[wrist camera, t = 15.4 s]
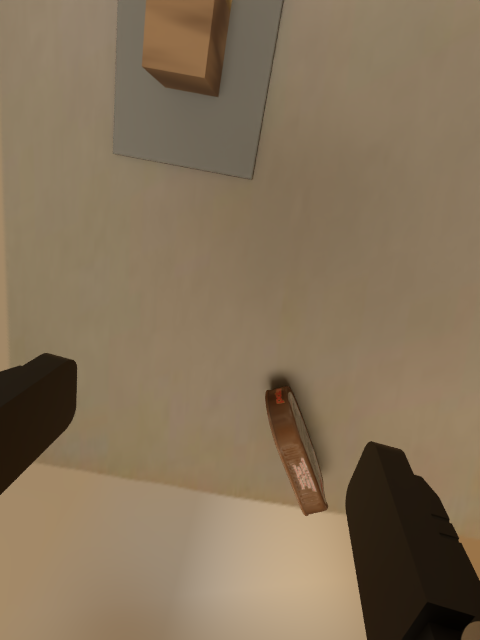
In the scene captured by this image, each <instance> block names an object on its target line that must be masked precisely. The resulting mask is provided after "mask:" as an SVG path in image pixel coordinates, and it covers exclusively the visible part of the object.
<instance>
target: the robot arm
mask: <svg viewBox="0 0 480 640" xmlns="http://www.w3.org/2000/svg"><path fill="white" fill-rule="evenodd" d="M76 393H77V364H76V362H75V361H74V360H71V359H67V358H64V357H60V356H56V355H53V354H49V353H44V354H42V355H40V356H38V357H36V358H35V359H33V360H31V361H30V362H28V363H27V364H25V365H23V366H17V367H14V368H10V369H7V370H4V371H1V372H0V495H1V494H2V493H3V492H4V491H5V490H6V489H7V488H8V487H9V486H10V485H11V484H12V483H13V482H14V481H15V480H16V479H17V478H18V477H19V476H20V474H22V473H23V472H24V471H25V470H26V469H27V468H28V467H29V466H30V465H31V464H32V463H33V462H34V461H35V460H36V459H37V458H38V457H39V456H40V455H41V454H42V453H43V452H44V451H45V450H46V449H47V448H48V447H49V446H50V445H51V444H52V443H53V442H54V441H55V440H56V439H57V438H58V437H59V436H60V435H61V434H62V433H63V432H64V431H65V430H66V429H67V427H68V426H69V424H70V423H71V421H72V419H73V417H74V414H75V410H76ZM346 515H347V521H348V527H349V533H350V539H351V545H352V551H353V557H354V563H355V569H356V575H357V581H358V587H359V593H360V599H361V605H362V611H363V617H364V623H365V629H366V636H367V640H480V581H479V578H478V577H477V574H476V572H475V570H474V568H473V566H472V564H471V562H470V560H469V558H468V556H467V554H466V552H465V550H464V548H463V546H462V543H459V541H458V539H459V537H458V535H457V533H456V531H455V529H454V527H453V525H452V523H449V517H448V515H447V513H446V511H445V509H444V507H443V504H442V502H441V500H440V498H439V497H438V495H437V494H436V493H435V492H434V491H433V490H432V488H431V487H430V486H429V485H428V484H427V483H426V481H425V480H424V479H423V478H422V477H421V476H417V475H414V474H413V472H412V469H411V467H410V465H409V462H408V460H407V458H406V455H405V453H404V452H403V451H402V450H401V449H398V448H394V447H390V446H386V445H383V444H379V443H375V442H372V441H371V442H368V444H367V445H366V446H365V448H364V451H363V453H362V455H361V458H360V460H359V462H358V464H357V467H356V469H355V471H354V473H353V476H352V478H351V480H350V483H349V485H348V488H347V493H346Z"/></svg>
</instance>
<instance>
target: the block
mask: <svg viewBox="0 0 480 640" xmlns="http://www.w3.org/2000/svg"><path fill="white" fill-rule="evenodd" d="M231 4H232V0H146V11H145V26H144V41H143V56H142V67H143V68H144V69H145V70H146V71H147V72H148V73H150V74H151V75H152V76H153V77H154V78H155V79H156V80H157V81H158V82H160V83H161V84H162V85H163V86H164V87H166V88H171V89H176V90H182V91H187V92H193V93H198V94H203V95H209V96H214V97H218V96H219V89H220V82H221V75H222V68H223V61H224V54H225V47H226V40H227V32H228V25H229V18H230V11H231Z"/></svg>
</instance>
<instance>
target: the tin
mask: <svg viewBox="0 0 480 640" xmlns="http://www.w3.org/2000/svg"><path fill="white" fill-rule="evenodd" d="M265 399H266V409H267V415H268V420H269V424H270V428H271V431H272V435H273V438H274V442H275V445H276V448H277V450H278V453H279V455H280V458H281V460H282V463H283V465H284V468H285V470H286V473H287V475H288V478H289V480H290V483H291V485H292V488H293V490H294V493H295V495H296V498H297V501H298V503H299V506H300V508H301V510H302V512H303V514H304V515H305V516H308V515H309V514H313V513H318V512H322V511H325V510H327V508H328V504H327V502H326V500H325V494H324V489H323V478H322V474H321V471H320V467H319V464H318V461H317V457H316V454H315V451H314V448H313V446H312V443H311V440H310V437H309V434H308V431H307V428H306V425H305V423H304V420H303V417H302V414H301V412H300V409H299V407H298V404H297V401H296V399H295V397H294V394H293V392H292V390H291V389H290V387H288V386H285V387H280V388H277V389H273V390H267V391H266V395H265Z"/></svg>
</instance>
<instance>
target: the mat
mask: <svg viewBox="0 0 480 640" xmlns="http://www.w3.org/2000/svg"><path fill="white" fill-rule="evenodd" d="M282 6H283V0H232V4H231V11H230V18H229V25H228V32H227V40H226V47H225V54H224V61H223V68H222V75H221V82H220V89H219V96H218V97H214V96H209V95H203V94H198V93H193V92H187V91H182V90H176V89H171V88H166V87H164V86H163V85H162V84H161V83H160V82H158V81H157V80H156V79H155V78H154V77H153V76H152V75H151V74H150V73H148V72H147V71H146V70H145V69H144V68H143V67H142V56H143V41H144V26H145V11H146V0H118V8H117V40H116V71H115V103H114V135H113V154H118V155H123V156H129V157H134V158H139V159H145V160H150V161H155V162H161V163H166V164H171V165H177V166H182V167H188V168H193V169H198V170H204V171H209V172H214V173H220V174H225V175H230V176H236V177H241V178H247V179H252V178H253V172H254V166H255V161H256V155H257V149H258V143H259V138H260V132H261V126H262V121H263V115H264V109H265V103H266V98H267V92H268V86H269V80H270V75H271V69H272V63H273V58H274V52H275V46H276V40H277V35H278V29H279V23H280V18H281V12H282Z"/></svg>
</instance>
